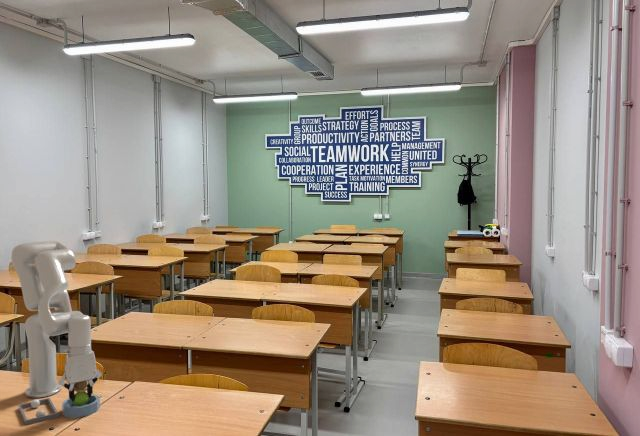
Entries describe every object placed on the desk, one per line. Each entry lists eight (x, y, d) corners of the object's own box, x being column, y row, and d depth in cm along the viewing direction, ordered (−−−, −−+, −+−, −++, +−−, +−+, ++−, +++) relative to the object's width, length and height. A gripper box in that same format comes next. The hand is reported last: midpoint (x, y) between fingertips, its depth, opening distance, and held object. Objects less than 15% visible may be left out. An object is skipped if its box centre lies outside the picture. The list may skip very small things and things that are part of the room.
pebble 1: (30, 407, 188) (29, 399, 188) (39, 405, 190) (39, 397, 190) (31, 410, 186) (31, 402, 186) (40, 407, 188) (40, 400, 187)
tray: (18, 408, 187) (18, 404, 187) (49, 401, 193) (49, 397, 193) (25, 425, 174) (25, 420, 174) (58, 417, 180) (58, 412, 180)
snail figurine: (73, 403, 188) (72, 371, 187) (91, 402, 188) (90, 371, 188) (67, 409, 183) (66, 377, 182) (85, 409, 183) (84, 376, 182)
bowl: (59, 408, 187) (59, 399, 187) (94, 400, 194) (94, 391, 194) (67, 420, 178) (66, 410, 177) (103, 411, 185) (102, 402, 185)
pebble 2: (35, 417, 179) (34, 409, 179) (44, 415, 181) (44, 407, 181) (36, 421, 177) (36, 412, 177) (46, 418, 179) (46, 410, 179)
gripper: (56, 356, 176) (57, 407, 178) (107, 347, 187) (108, 395, 188) (51, 351, 182) (53, 400, 183) (101, 342, 193) (102, 389, 194)
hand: (80, 397), depth 186 cm, fingers closed on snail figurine, 5 cm apart
